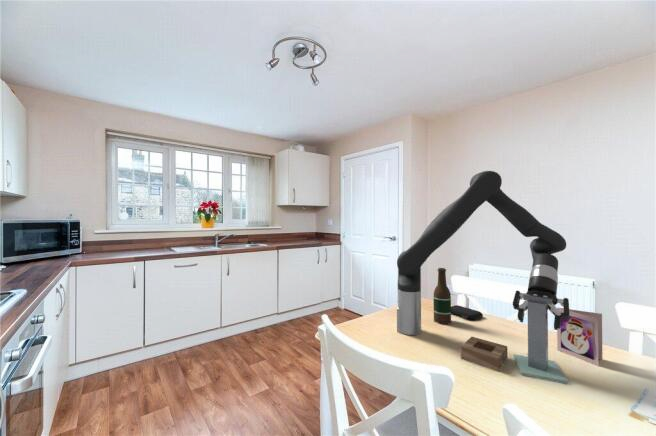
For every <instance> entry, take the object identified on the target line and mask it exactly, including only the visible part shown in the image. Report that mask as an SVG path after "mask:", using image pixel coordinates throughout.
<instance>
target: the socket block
mask: <svg viewBox="0 0 656 436" xmlns="http://www.w3.org/2000/svg"><path fill="white" fill-rule="evenodd" d="M508 355H509V354H508V346H507V345H505V344H500V343H497V342H494V341H489V340H486V339H482V338H478V337H475V336H470V338H468V339H467V340H466V341H465V342H464V343H463V344H462V345H461V346H460V359H461V360H464V361H467V362H469V363H473V364H475V365H478V366H482V367H484V368H487V369H490V370H494V371H496V372H500V371H501V369H502V367H503V366H504V364H505V363H506V361H507V360H508Z"/></svg>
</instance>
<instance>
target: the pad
mask: <svg viewBox="0 0 656 436" xmlns="http://www.w3.org/2000/svg"><path fill="white" fill-rule="evenodd" d="M512 357H513V359H514V361H515V364H516V365H517V369H518V371H519V373H520V376H525V377H529V378H536V379H541V380H546V381H550V382H556V383H561V384H565V385H568V384H569V380H568V379H567V377H566V376H565V375H564V373H563V371H562V370H561V368H559V365H558V364H557V363H556V362H555V360H550V359H548V368H547V371H546V372H545V371H542V370H539V369H535V368H532V367H529V366H528V355H526V356H525V355H521V354H515V353H514V354H513V355H512Z"/></svg>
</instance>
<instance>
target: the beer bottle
mask: <svg viewBox="0 0 656 436" xmlns="http://www.w3.org/2000/svg"><path fill="white" fill-rule="evenodd" d="M446 272H447V269H446V268H445V267H439V268H438V269H437V273H438V274H437V285H436V287H435V289H434V290H433V322H435V323H437V324H439V323H440V324H439V325H450V324H451V323H452V314H451V306H452V299H451V298H452V297H451V296H452V295H451V291H450V289H449V287H448V285H447V276H446Z"/></svg>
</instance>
